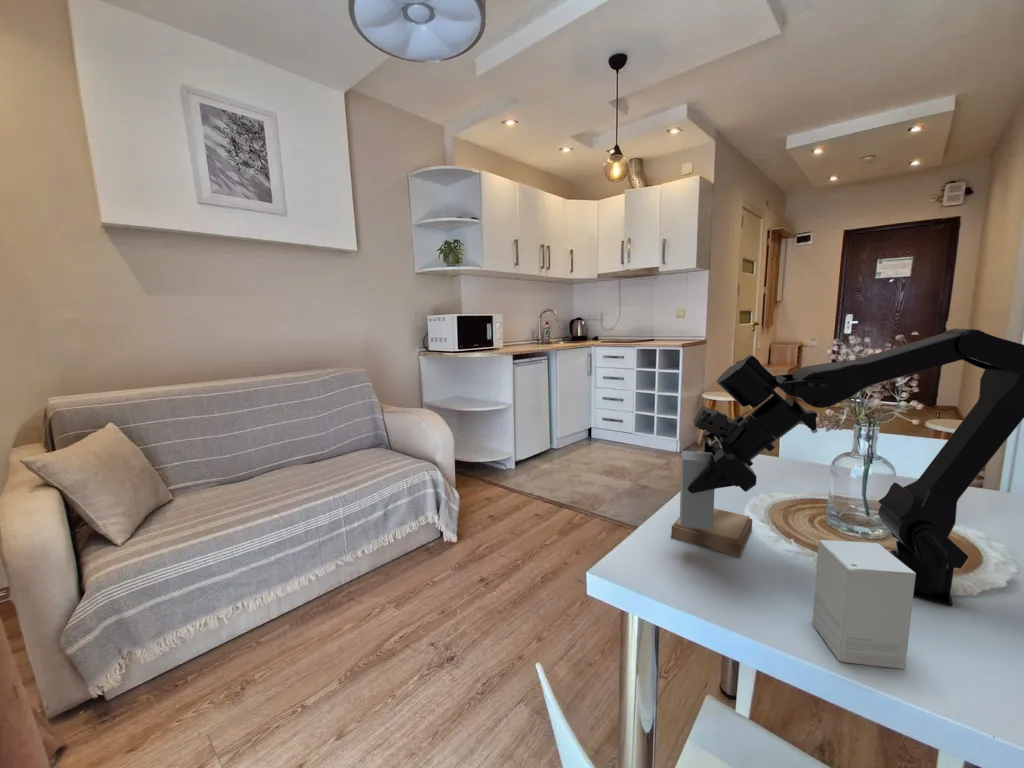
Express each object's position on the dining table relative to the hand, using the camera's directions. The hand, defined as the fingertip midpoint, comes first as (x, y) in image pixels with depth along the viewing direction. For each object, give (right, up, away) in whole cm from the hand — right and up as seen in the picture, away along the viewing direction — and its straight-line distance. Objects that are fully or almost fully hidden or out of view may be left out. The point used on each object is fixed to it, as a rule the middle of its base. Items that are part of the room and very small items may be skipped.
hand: (688, 485), depth 76 cm
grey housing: (+1, -7, +1) cm, 7 cm away
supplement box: (+14, -16, -19) cm, 29 cm away
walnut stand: (+9, -12, +10) cm, 17 cm away
